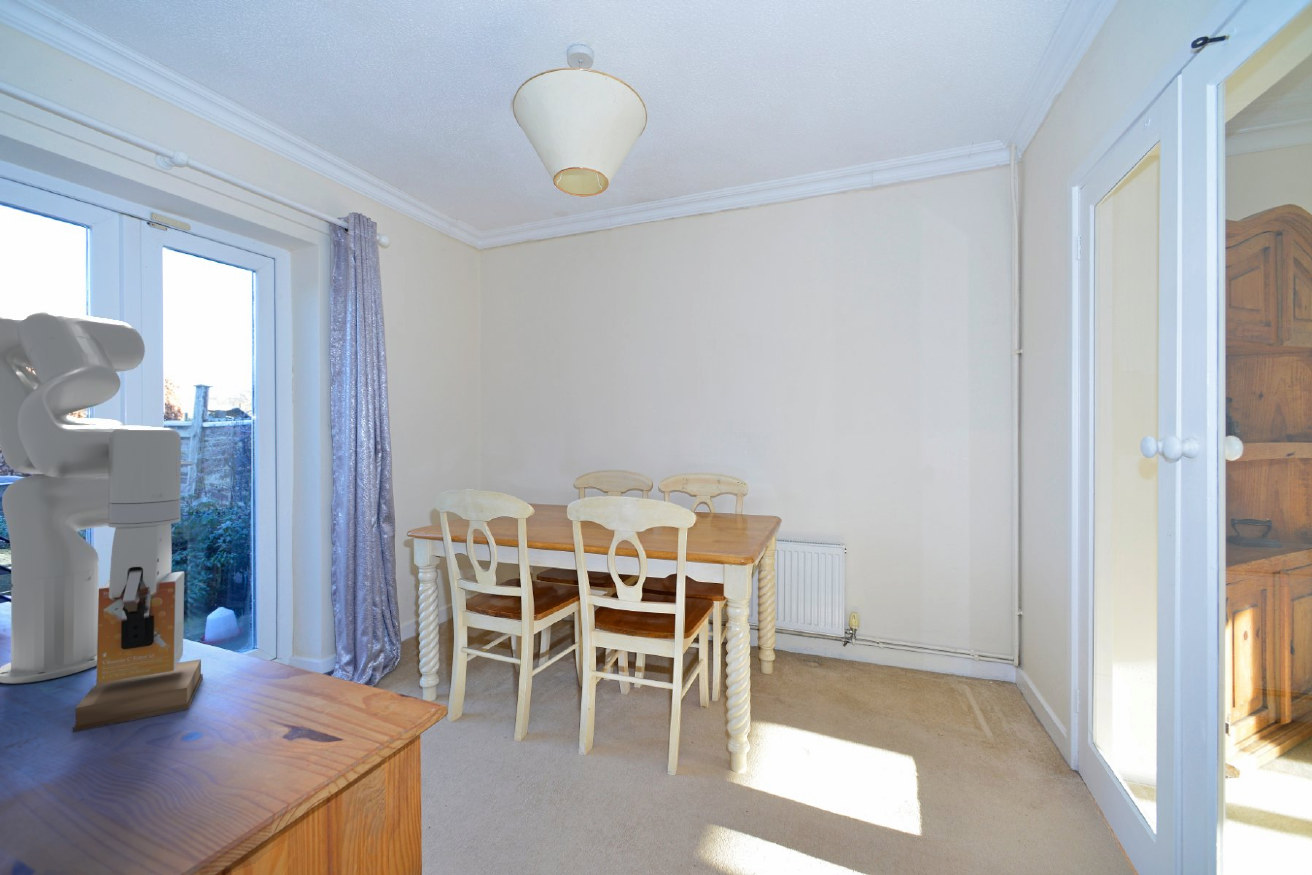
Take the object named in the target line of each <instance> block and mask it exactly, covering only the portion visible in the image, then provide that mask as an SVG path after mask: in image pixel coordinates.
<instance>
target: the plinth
mask: <svg viewBox="0 0 1312 875" xmlns="http://www.w3.org/2000/svg"><path fill="white" fill-rule="evenodd" d="M203 675H204V674H203V673H202V659H195V660H188V661H182V662H180V661H179V662H178V664H177V666H176V668H175V670H174V671H171V672H163V673H157V674H150V675H144V676H137V677H131V678H124V679H118V680H112V681H106V682H102V683H97V682H96V684H95V685H94V686H92V688H91V690H90V691H88V693H86V695H85V696H84V698H83V699H82V700H81V701H80V702H79V703H78V704H77V705H76V707H75V722H74V725H73V726H72V733H77V732H80V731H86V730H90V729H94V728H101V727H105V726H106V727H107V726H110V725H111V726H112V725H117V724H121V723H125V722H126V721H127V722H131V721H137V720H141V719H146V718H151V717H156V716H161V715H166V714H167V715H168V714H171V713H177V712H181V711H187V710H189V708H190V707H191V704H192V702H193V700H194V698H195V695H196V693H197V691H198V689H199V687H200V684H201V682H202V681H203V677H204V676H203Z"/></svg>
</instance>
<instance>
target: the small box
mask: <svg viewBox="0 0 1312 875" xmlns="http://www.w3.org/2000/svg"><path fill="white" fill-rule="evenodd" d="M109 584H110V579H109V580H108V581H106V582H104V584H103V585H101V586H100V587H99V593H98V634H97V665H96V683H102V682H106V681H112V680H118V679H124V678H131V677H137V676H144V675H150V674H157V673H163V672H171V671H174V670H175V668H176V666H177V664H178V663H180V661H181V658H182V657H183V655H184V654H183V653H184V610H185V606H184V603H185V600H184V599H185V571H175V572H171V573H169V574H168V575H167V576H166V577H165V578H164V579H163V580H162V581H161V582H160V585H159V591H158V593H157V594H156V595H154V596H152V609H151V616H154V642H153V644H152V645H150V646H145V647H138V648H131V649H122V648H121V621H122V611H123V597H124V593H125V588H124V590H123V592H122V593H123V595H122V596H120V597H117V598H115V599H117V600H114V601H113V600H111V599H110V598H109ZM125 587H126V586H125ZM147 592H148V589H141V590H140V592H139V595H143V594H148V593H147ZM139 602H143V604H144V608H145V600H139Z"/></svg>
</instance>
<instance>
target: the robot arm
mask: <svg viewBox="0 0 1312 875" xmlns="http://www.w3.org/2000/svg"><path fill="white" fill-rule="evenodd" d="M145 348H146V347H145V343H144V340H143V338H142V336H141V334H140V333H139V332H138V330H137V329H136V328H134V326H132V325H130V324H128V323H126V322H123V321H119V320H113V319H108V318H100V317H94V316H88V315H80V314H74V313H68V312H58V311H57V312H56V311H43V312H36V313H33V314H30V315H28V316H20V315H19V316H17V315H11V314H10V315H9V314H8V315H7V314H0V450H1V453H2V456H3V459H4V460H5V462H6V465H7V466H8V467H10V468H11V469H12V470H13V471H16V472H19V473H22V474H28V475H29V476H26V477H22V478H20V479H17V480H15V481H13V482H12V483H10V484H9V485H8V486H7V487H6V489H4V491H3V494H2V498H1V499H2V500H1V507H2V511H3V516H4V520H5V524H6V527H7V532H8V538H9V539H8V540H9V545H10V561H11V562H10V563H11V564H10V571H11V572H10V577H11V581H10V582H11V585H10V587H11V589H10V590H11V594H10V596H11V598H10V609H11V610H10V611H11V612H10V615H11V616H10V618H11V619H10V662H8V663H5V664H4V665H2V666H1V667H0V683H2V684H10V685H12V684H14V685H15V684H28V683H35V682H42V681H47V680H53V679H57V678H62V677H65V676H70V675H73V674H77V673H80V672H84V671H86V670H89V669H91V668H94V667H97V634H98V593H99V588H100V587H99V584H100V583H99V582H100V581H99V580H100V579H99V577H100V575H99V574H100V572H99V571H100V568H99V561H100V560H99V555H98V552H97V550H96V548H95V546H93V545H92V544H91V543H89V542H88V541H87V540H86V539H84V538H83V537H82V536H80V535H79V533H78V532H79V531H82V530H89V529H93V528H102V527H109V528H114V533H113V539H112V547H111V557H110V568H109V570H110V571H109V573H110V574H109V580H110V584H109V598H110V599H111V600H113V601H114V600H117V599H115V598H117V597H120V596H122V595H123V593H122V592H123V590H124V588H125V593H124V597H123V611H122V621H121V648H122V649H131V648H138V647H145V646H150V645H152V644H153V642H154V616H151V609H152V596H154V595H156V594H157V593H158V591H159V585H160V582H161V581H162V580H163V579H164V578H165V577H166V576H167V575H168V574H169V573H172V556H173V555H172V553H173V552H172V545H173V544H172V524H175V523H179V522H181V506H182V505H181V502H182V501H181V497H182V496H181V493H182V491H181V490H182V485H181V484H182V481H181V480H182V478H181V477H182V438H181V437H182V436H181V435H180V433H179V432H178V431H177V430H176V429H173V428H168V427H155V426H154V427H152V426H147V425H129V424H128V425H126V424H125V423H124V422H121V421H119V420H115V419H106V418H81V417H80V418H78V417H75V416H72V415H71V413H76V412H78V411H83V410H86V409H90V408H93V407H96V406H99V405H102V404H104V403H105V402H108V401H110V400H111V399H112V398H114V397H115V396H116V395H117V394H118V392H119V391H120V389H121V378H120V376H119V374H118V372H127V371H130V370H134V369H135V368H138V366H139V365H140V364H141V363H143V360H144V358H145V354H146V350H145ZM28 368H32V370H33V371H34V373H33V372H32V371H30V370H28ZM125 586H126V587H125ZM141 589H148V592H147V593H148V594H143V595H139V592H140V590H141ZM139 600H145V608H144V604H143V602H139Z"/></svg>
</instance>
